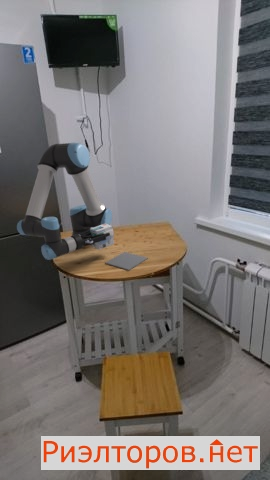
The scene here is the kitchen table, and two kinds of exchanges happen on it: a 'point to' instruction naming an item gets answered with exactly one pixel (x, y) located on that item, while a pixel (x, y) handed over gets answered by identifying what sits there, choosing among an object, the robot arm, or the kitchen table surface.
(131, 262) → the grey mat
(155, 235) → the kitchen table surface
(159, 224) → the kitchen table surface
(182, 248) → the kitchen table surface
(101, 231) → the light bulb box
